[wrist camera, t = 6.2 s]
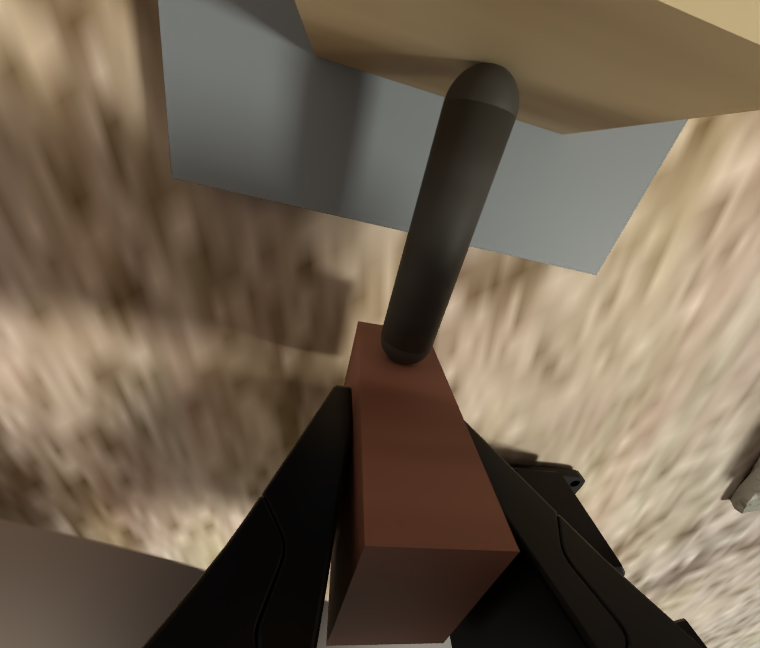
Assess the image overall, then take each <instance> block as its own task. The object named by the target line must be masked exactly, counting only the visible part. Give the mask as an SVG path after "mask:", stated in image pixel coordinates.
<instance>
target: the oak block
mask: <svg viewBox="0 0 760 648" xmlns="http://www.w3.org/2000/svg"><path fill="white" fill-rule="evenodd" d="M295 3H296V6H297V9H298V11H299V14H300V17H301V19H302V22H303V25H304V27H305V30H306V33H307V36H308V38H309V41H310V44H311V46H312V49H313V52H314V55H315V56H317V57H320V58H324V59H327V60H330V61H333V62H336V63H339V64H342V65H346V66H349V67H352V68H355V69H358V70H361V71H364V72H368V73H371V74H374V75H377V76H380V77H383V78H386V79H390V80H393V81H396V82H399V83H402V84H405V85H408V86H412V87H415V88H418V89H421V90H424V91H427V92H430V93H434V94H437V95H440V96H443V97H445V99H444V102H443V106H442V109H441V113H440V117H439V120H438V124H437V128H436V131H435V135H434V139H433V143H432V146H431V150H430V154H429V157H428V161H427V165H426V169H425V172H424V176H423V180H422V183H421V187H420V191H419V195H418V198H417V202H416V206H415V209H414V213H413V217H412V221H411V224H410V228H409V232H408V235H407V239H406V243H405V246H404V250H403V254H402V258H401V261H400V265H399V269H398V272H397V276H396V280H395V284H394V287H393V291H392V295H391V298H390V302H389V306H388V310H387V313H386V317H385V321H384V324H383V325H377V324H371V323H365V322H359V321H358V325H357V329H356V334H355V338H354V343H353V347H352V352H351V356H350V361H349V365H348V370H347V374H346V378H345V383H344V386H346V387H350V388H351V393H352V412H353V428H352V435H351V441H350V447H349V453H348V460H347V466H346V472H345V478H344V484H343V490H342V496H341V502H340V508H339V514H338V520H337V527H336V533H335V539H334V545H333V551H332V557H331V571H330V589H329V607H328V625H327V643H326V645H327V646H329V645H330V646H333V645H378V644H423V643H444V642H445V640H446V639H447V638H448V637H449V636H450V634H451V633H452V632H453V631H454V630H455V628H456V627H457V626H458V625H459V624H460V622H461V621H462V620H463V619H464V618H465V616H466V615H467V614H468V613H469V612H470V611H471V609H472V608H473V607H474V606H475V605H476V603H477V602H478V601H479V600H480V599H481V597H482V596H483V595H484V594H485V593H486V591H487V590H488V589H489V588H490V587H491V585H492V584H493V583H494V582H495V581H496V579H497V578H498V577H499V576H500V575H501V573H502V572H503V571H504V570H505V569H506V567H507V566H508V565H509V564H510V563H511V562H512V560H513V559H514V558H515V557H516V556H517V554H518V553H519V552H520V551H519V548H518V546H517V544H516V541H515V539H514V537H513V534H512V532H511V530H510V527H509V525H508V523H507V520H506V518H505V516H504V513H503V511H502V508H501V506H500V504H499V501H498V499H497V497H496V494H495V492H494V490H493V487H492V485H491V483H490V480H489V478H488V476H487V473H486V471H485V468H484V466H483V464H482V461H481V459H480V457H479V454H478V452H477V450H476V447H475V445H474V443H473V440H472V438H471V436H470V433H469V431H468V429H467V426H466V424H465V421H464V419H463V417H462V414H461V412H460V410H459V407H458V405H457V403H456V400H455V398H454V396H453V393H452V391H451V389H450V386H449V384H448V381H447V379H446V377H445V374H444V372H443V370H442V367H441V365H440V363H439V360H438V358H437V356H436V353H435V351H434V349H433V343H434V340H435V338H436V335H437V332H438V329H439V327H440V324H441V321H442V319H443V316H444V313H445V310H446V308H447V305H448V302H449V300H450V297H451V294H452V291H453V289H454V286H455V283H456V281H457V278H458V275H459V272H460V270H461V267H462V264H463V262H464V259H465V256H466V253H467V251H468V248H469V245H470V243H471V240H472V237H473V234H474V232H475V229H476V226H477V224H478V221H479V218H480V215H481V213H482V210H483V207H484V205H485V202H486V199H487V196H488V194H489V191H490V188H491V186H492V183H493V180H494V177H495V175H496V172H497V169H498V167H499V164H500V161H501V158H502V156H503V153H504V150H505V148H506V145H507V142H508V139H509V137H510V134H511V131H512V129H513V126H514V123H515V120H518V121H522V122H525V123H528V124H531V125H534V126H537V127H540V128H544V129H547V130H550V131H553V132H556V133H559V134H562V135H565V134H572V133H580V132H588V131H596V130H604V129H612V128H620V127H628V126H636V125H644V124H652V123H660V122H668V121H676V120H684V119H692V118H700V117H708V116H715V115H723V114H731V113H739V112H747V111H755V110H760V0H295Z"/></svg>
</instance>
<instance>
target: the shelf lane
mask: <svg viewBox="0 0 760 648" xmlns="http://www.w3.org/2000/svg"><path fill="white" fill-rule="evenodd" d="M158 7H159V20H160V33H161V46H162V58H163V71H164V84H165V97H166V110H167V122H168V135H169V148H170V161H171V173H172V178H174V179H178V180H182V181H187V182H191V183H196V184H200V185H204V186H209V187H213V188H217V189H222V190H226V191H231V192H235V193H239V194H244V195H248V196H252V197H257V198H261V199H266V200H270V201H274V202H279V203H283V204H287V205H292V206H296V207H301V208H305V209H309V210H314V211H318V212H322V213H327V214H331V215H336V216H340V217H344V218H349V219H353V220H357V221H362V222H366V223H370V224H375V225H379V226H384V227H388V228H392V229H397V230H401V231H405V232H409V228H410V224H411V221H412V217H413V213H414V209H415V206H416V202H417V198H418V195H419V191H420V187H421V183H422V180H423V176H424V172H425V169H426V165H427V161H428V157H429V154H430V150H431V146H432V143H433V139H434V135H435V131H436V128H437V124H438V120H439V117H440V113H441V109H442V106H443V102H444V99H445V97H443V96H440V95H437V94H434V93H430V92H427V91H424V90H421V89H418V88H415V87H412V86H408V85H405V84H402V83H399V82H396V81H393V80H390V79H386V78H383V77H380V76H377V75H374V74H371V73H368V72H364V71H361V70H358V69H355V68H352V67H349V66H346V65H342V64H339V63H336V62H333V61H330V60H327V59H324V58H320V57H317V56H315V55H314V52H313V49H312V46H311V44H310V41H309V38H308V36H307V33H306V30H305V27H304V25H303V22H302V19H301V17H300V14H299V11H298V9H297V6H296V3H295V0H158ZM687 120H688V119H684V120H676V121H668V122H660V123H652V124H644V125H636V126H628V127H620V128H612V129H604V130H596V131H588V132H580V133H572V134H565V135H562V134H559V133H556V132H553V131H550V130H547V129H544V128H540V127H537V126H534V125H531V124H528V123H525V122H522V121H518V120H515V123H514V126H513V129H512V131H511V134H510V137H509V139H508V142H507V145H506V148H505V150H504V153H503V156H502V158H501V161H500V164H499V167H498V169H497V172H496V175H495V177H494V180H493V183H492V186H491V188H490V191H489V194H488V196H487V199H486V202H485V205H484V207H483V210H482V213H481V215H480V218H479V221H478V224H477V226H476V229H475V232H474V234H473V237H472V240H471V243H470V245H469V246H471V247H475V248H480V249H484V250H489V251H493V252H497V253H502V254H506V255H510V256H515V257H519V258H524V259H528V260H532V261H537V262H541V263H545V264H550V265H554V266H559V267H563V268H567V269H572V270H576V271H580V272H585V273H589V274H593V275H597V273H598V271H599V270H600V268H601V266H602V265H603V263H604V261H605V260H606V258H607V256H608V254H609V253H610V251H611V249H612V248H613V246H614V244H615V243H616V241H617V239H618V238H619V236H620V234H621V232H622V231H623V229H624V227H625V226H626V224H627V222H628V221H629V219H630V217H631V215H632V214H633V212H634V210H635V209H636V207H637V205H638V204H639V202H640V200H641V198H642V197H643V195H644V193H645V192H646V190H647V188H648V187H649V185H650V183H651V182H652V180H653V178H654V176H655V175H656V173H657V171H658V170H659V168H660V166H661V165H662V163H663V161H664V159H665V158H666V156H667V154H668V153H669V151H670V149H671V148H672V146H673V144H674V142H675V141H676V139H677V137H678V136H679V134H680V132H681V131H682V129H683V127H684V125H685V124H686V122H687Z"/></svg>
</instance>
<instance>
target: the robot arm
mask: <svg viewBox="0 0 760 648" xmlns="http://www.w3.org/2000/svg"><path fill="white" fill-rule="evenodd" d="M465 424H466V426H467V429H468V431H469V433H470V436H471V438H472V440H473V443H474V445H475V447H476V450H477V452H478V454H479V457H480V459H481V461H482V464H483V466H484V468H485V471H486V473H487V476H488V478H489V480H490V483H491V485H492V487H493V490H494V492H495V494H496V497H497V499H498V501H499V504H500V506H501V508H502V511H503V513H504V516H505V518H506V520H507V523H508V525H509V527H510V530H511V532H512V534H513V537H514V539H515V541H516V544H517V546H518V548H519V551H520V552H519V553H518V554H517V556H516V557H515V558H514V559H513V560H512V562H511V563H510V564H509V565H508V566H507V567H506V569H505V570H504V571H503V572H502V573H501V575H500V576H499V577H498V578H497V579H496V581H495V582H494V583H493V584H492V585H491V587H490V588H489V589H488V590H487V591H486V593H485V594H484V595H483V596H482V597H481V599H480V600H479V601H478V602H477V603H476V605H475V606H474V607H473V608H472V609H471V611H470V612H469V613H468V614H467V615H466V616H465V618H464V619H463V620H462V621H461V622H460V624H459V625H458V626H457V627H456V628H455V630H454V631H453V632H452V633H451V634H450V639H451V645H452V648H707V647H706V645H705V644H704V643H703V642H702V640H701V639H700V638H699V636H698V635H697V634H696V632H695V631H694V630H693V629H692V627H691V626H690V625H689V623H688V622H687V621H686V620H685V619H684V618H683V619H679V620H676V621H673V620H672V619H670V618H669V617H668V616H667V615H666V614H665V613H664V612H663V611H661V610H660V609H659V608H658V607H657V606H656V605H655V604H654V603H653V602H651V601H650V600H649V599H648V598H647V597H646V596H645V595H644V594H642V593H641V592H640V591H639V590H638V589H637V588H636V587H635V586H634V585H633V584H631V583H630V582H629V581H628V580H627V579H626V578H625V577H624V575H625V571H624V569H623V567H622V565H621V563H620V562H619V560H618V558H617V557H616V555H615V554H614V552H613V551H612V549H611V548H610V546H609V545H608V543H607V542H606V540H605V539H604V537H603V536H602V534H601V533H600V531H599V530H598V528H597V527H596V525H595V524H594V522H593V521H592V519H591V518H590V516H589V515H588V513H587V512H586V510H585V509H584V507H583V506H582V504H581V503H580V501H579V500H578V498H577V497H576V495H575V494H576V492H577V491H578V490H579V489H580V488H581V487H582V485H583V484H584V482H585V480H584V478H583V477H582V475H581V474H580V473H579V472H578V471H576V470H568V469H557V468H546V467H536V466H525V465H514V464H508V463H507V462H506V461H505V460H504V459H503V458H502V457H501V456H500V455H499V454H498V453H497V452H496V451H495V450H494V449H493V448H492V447H491V446H490V445H489V444H488V443H487V442H486V441H485V440H484V439H483V438H482V437H481V436H480V435H479V434H477V433H476V432H475V431H474V430H473V429H472V428H471V427H470V426H469V425H468V424H467V423H466V422H465ZM352 428H353V412H352V393H351V388H350V387H346V386H338V385H337V386H335V387H334V388H333V389H332V391H331V392H330V394H329V395H328V397H327V398H326V400H325V401H324V403H323V404H322V406H321V407H320V409H319V410H318V412H317V413H316V415H315V416H314V417H313V419H312V420H311V422H310V423H309V425H308V426H307V428H306V429H305V431H304V432H303V434H302V435H301V437H300V438H299V440H298V441H297V443H296V444H295V446H294V447H293V449H292V450H291V452H290V453H289V455H288V456H287V458H286V459H285V461H284V462H283V463H282V465H281V466H280V468H279V469H278V471H277V472H276V474H275V475H274V477H273V478H272V480H271V481H270V483H269V484H268V486H267V487H266V489H265V490H264V492H263V493H262V497H260V498H259V499H258V500H257V502H256V503H255V505H254V506H253V508H252V509H251V511H250V512H249V513H248V515H247V516H246V518H245V519H244V521H243V522H242V523H241V525H240V526H239V528H238V529H237V530H236V532H235V533H234V535H233V536H232V537H231V539H230V540H229V541H228V543H227V544H226V546H225V547H224V548H223V549H222V551H221V552H220V553H219V555H218V556H217V557H216V558H215V560H214V561H213V562H212V563H211V565H210V566H209V567H208V568H207V570H206V571H205V572H204V573H203V575H202V576H201V577H200V578H199V580H198V581H197V582H196V583H195V585H194V586H193V587H192V588H191V590H190V591H189V592H188V593H187V594H186V595H185V597H184V598H183V599H182V600H181V601H180V603H179V604H178V605H177V607H175V609H174V610H173V611H172V612H171V613H170V615H169V616H168V617H167V618H166V619H165V621H164V622H163V623H162V624H161V625H160V627H159V628H158V629H157V630H156V631H155V633H154V634H153V635H152V636H151V637H150V639H149V640H148V641H147V642H146V643H145V645H144V646H143V647H142V648H317V642H318V636H319V630H320V624H321V617H322V612H323V606H324V600H325V594H326V587H327V581H328V575H329V569H330V563H331V557H332V551H333V545H334V539H335V533H336V527H337V520H338V514H339V508H340V502H341V496H342V490H343V484H344V478H345V472H346V466H347V460H348V453H349V447H350V441H351V435H352Z"/></svg>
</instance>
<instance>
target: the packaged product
mask: <svg viewBox="0 0 760 648" xmlns="http://www.w3.org/2000/svg"><path fill="white" fill-rule="evenodd" d="M730 500H731V502H732V504H733V507H734V509H736V510H737V511H739V512H740V513H742V514H743V513H746V512H750V511H757V510H760V456H759V458H758V460H757V462H756V463H755V465H754V467H753V469H752V470H751V472H750V474H749V475H748V476H747V477H746V479H745V480H744V481H743V482H742V483H741V485H740V486H739V487H738V488H737V489H736V491H735V493H734V495H733V496H732V498H731V499H730Z"/></svg>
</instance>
